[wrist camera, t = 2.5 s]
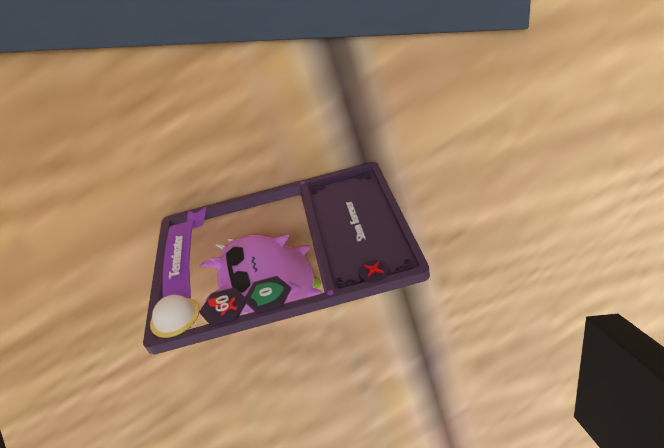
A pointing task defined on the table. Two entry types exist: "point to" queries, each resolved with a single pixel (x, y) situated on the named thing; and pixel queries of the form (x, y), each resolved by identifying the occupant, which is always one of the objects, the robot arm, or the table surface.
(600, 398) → the robot arm
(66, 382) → the table surface
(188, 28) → the mat
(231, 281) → the game card
